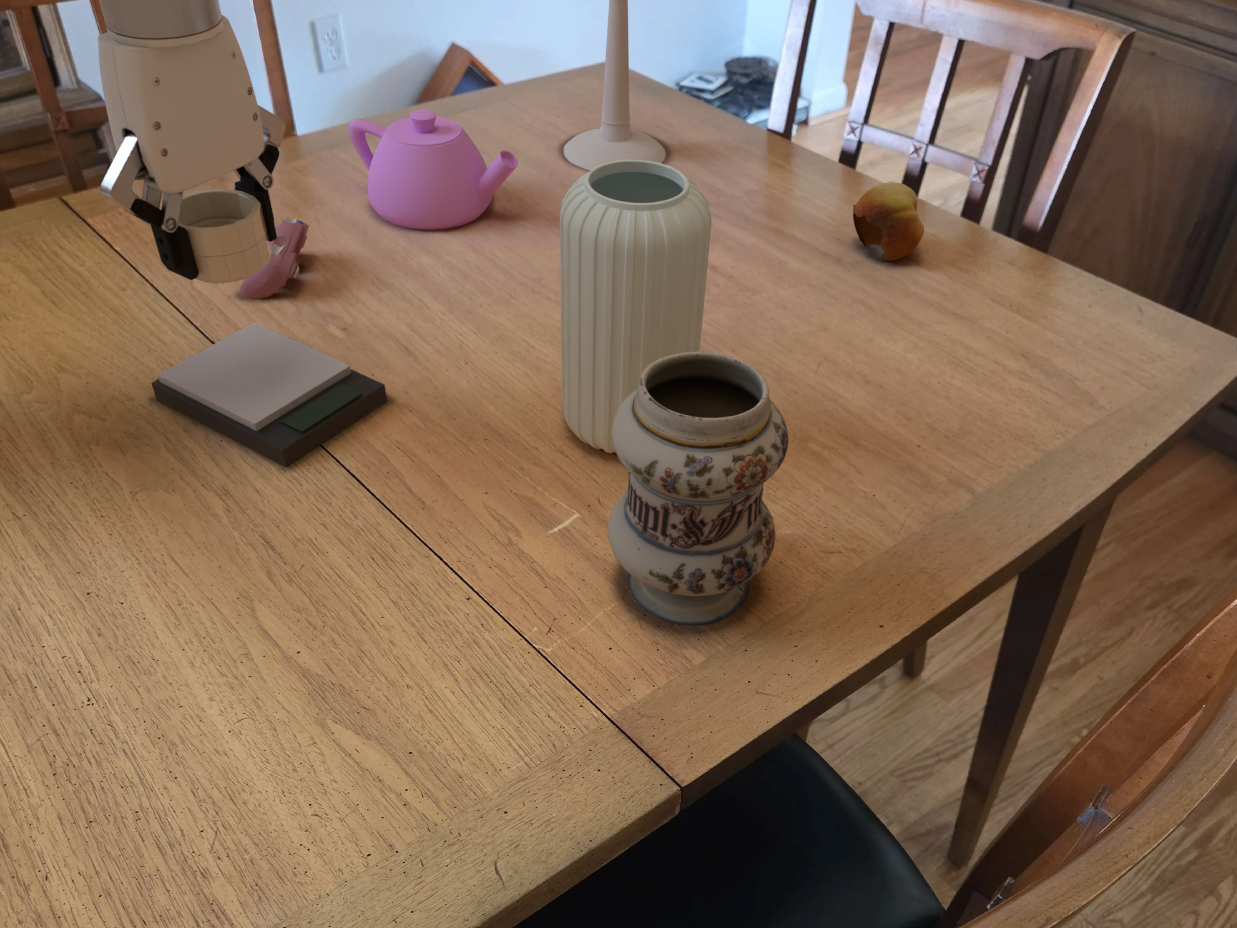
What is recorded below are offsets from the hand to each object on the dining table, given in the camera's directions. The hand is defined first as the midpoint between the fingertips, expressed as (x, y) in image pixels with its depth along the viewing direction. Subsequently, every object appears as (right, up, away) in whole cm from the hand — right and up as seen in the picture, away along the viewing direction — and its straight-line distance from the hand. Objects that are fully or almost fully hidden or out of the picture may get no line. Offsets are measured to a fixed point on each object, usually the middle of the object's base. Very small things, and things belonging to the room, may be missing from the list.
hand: (222, 252), depth 87 cm
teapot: (+10, +18, +38) cm, 44 cm away
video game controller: (-4, +6, +26) cm, 27 cm away
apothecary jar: (+36, -27, -3) cm, 45 cm away
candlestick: (+30, +30, +51) cm, 66 cm away
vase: (+32, -12, +10) cm, 36 cm away
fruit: (+60, +12, +35) cm, 70 cm away
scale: (+1, -10, +11) cm, 15 cm away
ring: (0, -1, +1) cm, 1 cm away
